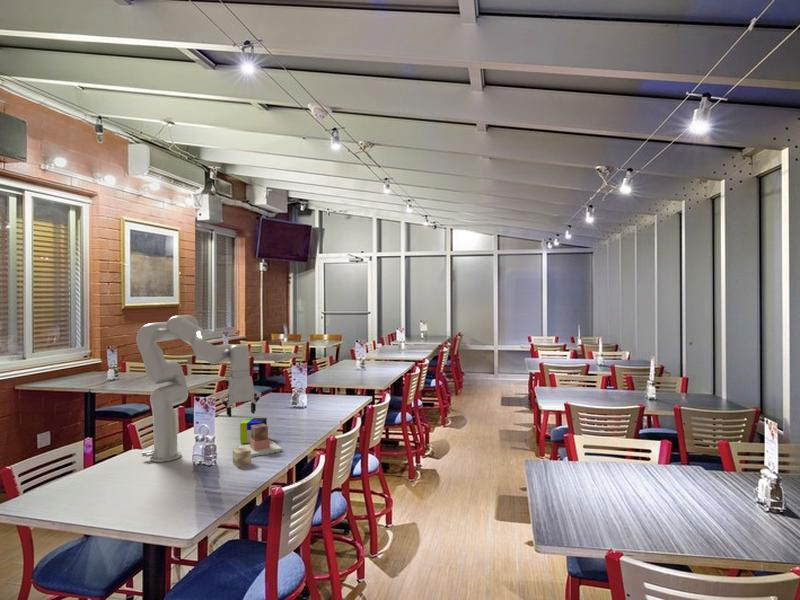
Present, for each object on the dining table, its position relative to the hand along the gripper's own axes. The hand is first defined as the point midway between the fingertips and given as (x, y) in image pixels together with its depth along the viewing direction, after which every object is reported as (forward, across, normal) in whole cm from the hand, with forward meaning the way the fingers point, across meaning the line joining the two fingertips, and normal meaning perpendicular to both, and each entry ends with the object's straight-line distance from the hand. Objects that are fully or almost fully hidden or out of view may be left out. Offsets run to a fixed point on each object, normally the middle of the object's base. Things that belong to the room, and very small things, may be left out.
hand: (241, 414), depth 215 cm
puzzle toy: (+21, +14, +32) cm, 41 cm away
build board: (+21, +12, +15) cm, 28 cm away
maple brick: (+21, 0, 0) cm, 21 cm away
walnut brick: (+16, +12, +15) cm, 25 cm away
